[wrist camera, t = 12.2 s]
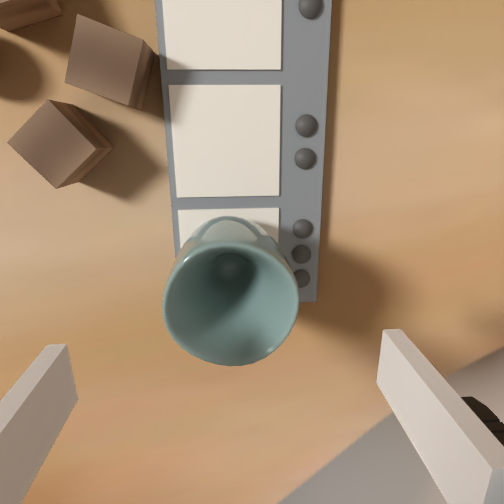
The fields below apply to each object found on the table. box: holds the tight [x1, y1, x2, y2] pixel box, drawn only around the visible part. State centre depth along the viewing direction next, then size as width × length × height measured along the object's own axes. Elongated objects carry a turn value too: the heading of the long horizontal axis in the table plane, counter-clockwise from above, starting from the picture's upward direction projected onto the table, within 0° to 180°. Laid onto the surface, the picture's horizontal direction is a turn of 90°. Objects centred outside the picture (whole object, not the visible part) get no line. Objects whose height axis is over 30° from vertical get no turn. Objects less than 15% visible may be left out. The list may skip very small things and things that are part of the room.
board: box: [155, 0, 332, 303], centre depth 27 cm, size 27×12×1 cm, turn 1°
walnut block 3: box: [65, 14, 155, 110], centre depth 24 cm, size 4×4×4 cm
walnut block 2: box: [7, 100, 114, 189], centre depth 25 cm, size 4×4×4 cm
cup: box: [162, 216, 300, 366], centre depth 25 cm, size 8×8×10 cm
